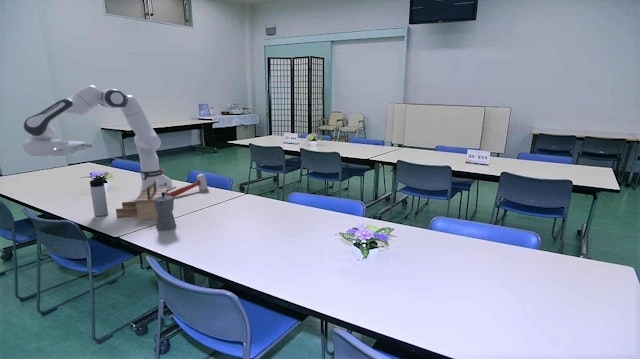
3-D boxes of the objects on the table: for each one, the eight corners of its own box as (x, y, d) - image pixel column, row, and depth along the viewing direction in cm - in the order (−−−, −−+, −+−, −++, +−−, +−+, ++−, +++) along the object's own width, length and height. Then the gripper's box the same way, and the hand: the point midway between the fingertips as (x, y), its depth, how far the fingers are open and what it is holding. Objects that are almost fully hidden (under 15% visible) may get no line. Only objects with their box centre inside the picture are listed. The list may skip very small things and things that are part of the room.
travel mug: (111, 214, 194) (106, 178, 189) (100, 218, 187) (95, 181, 183) (102, 213, 195) (97, 177, 191) (91, 216, 189) (86, 180, 185)
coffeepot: (174, 231, 171) (171, 195, 167) (153, 233, 169) (149, 196, 164) (179, 220, 185) (176, 187, 181) (159, 221, 183) (156, 188, 179)
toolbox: (125, 208, 204) (122, 180, 200) (169, 205, 210) (166, 178, 206) (114, 221, 183) (110, 190, 179) (163, 218, 189) (160, 188, 185)
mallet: (167, 190, 219) (205, 173, 243) (163, 189, 220) (201, 173, 244) (171, 206, 222) (208, 188, 246) (167, 205, 224) (204, 187, 248)
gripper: (50, 144, 182) (81, 143, 185) (67, 139, 201) (94, 139, 205) (52, 156, 184) (83, 155, 187) (69, 150, 203) (96, 149, 206)
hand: (89, 147), depth 196 cm, fingers open, 8 cm apart
